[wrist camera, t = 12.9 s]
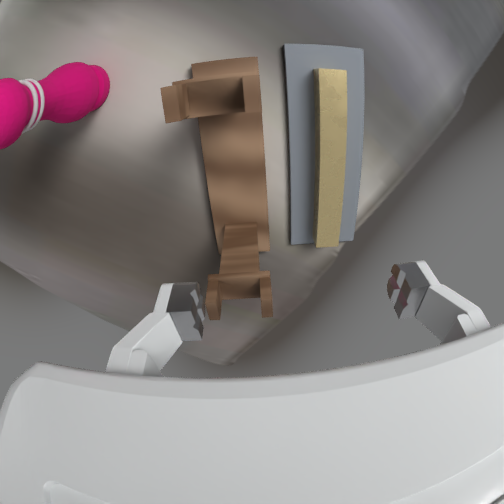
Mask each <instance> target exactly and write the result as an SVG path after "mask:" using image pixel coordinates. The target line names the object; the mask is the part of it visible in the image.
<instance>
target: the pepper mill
mask: <svg viewBox="0 0 504 504" xmlns="http://www.w3.org/2000/svg"><path fill="white" fill-rule="evenodd" d="M109 89H110V81H109V77H108V75H107V73H106V71H105V70H104V69H103V68H101V67H99V66H96V65H87V64H85V63H81V62H74V63H68V64H65V65H63V66H61V67H59V68H57V69H55V70H54V71H53V72H52V73H51V74H49V75H48V76H47V77H46V78H44V79H42V80H40V81H36V80H34V79H30V78H28V79H24V80H19V81H17V80H15V79H13V78H4V79H0V149H3V148H6V147H8V146H9V145H11V144H12V143H14V142H15V141H16V140H17V139H18V138H19V136H20V135H21V134H22V133H24V132H26V131H28V130H31V129H32V128H34V127H35V126H36V125H37V123H38V122H39V121H41V120H51V121H53V122H56V123H70V122H74V121H77V120H80V119H81V118H83V117H84V116H86V115H87V114H88V113H89V112H91V111H93V110H96V109H97V108H99V107H100V106H101V105H102V104H103V103H104V101H105V100H106V98H107V96H108V93H109Z"/></svg>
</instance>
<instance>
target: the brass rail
mask: <svg viewBox="0 0 504 504" xmlns="http://www.w3.org/2000/svg"><path fill="white" fill-rule="evenodd" d="M313 73H314V100H315V190H314V218H313V240H314V243H315V246H316V248H319V247H334V246H338V244H339V235H340V226H341V216H342V206H343V194H344V180H345V164H346V142H347V70H338V69H322V68H317V69H313Z"/></svg>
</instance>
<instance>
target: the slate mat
mask: <svg viewBox="0 0 504 504" xmlns="http://www.w3.org/2000/svg"><path fill="white" fill-rule="evenodd" d="M284 57H285V72H286V88H287V107H288V129H289V159H290V220H291V245H293V244H308V243H314V240H313V218H314V190H315V100H314V73H313V69H317V68H322V69H338V70H347V142H346V164H345V180H344V194H343V206H342V216H341V226H340V235H339V241H352V240H353V237H354V230H355V223H356V215H357V207H358V198H359V188H360V177H361V165H362V151H363V131H364V56H363V49H358V48H350V47H341V46H330V45H314V44H284Z"/></svg>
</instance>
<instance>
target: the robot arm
mask: <svg viewBox="0 0 504 504" xmlns="http://www.w3.org/2000/svg"><path fill="white" fill-rule="evenodd" d="M391 272H392V274H393V275H392V277H391V278H390V279H389V280H388V284H387V291H388V295H389V298H390V300H391V301H392V302H394V303H395V306H394V309H395V311H396V313H397V315H398V318H399V319H403V318H409V317H415V318H416V319H417V320H419V321H420V322H421V323H422V324H423V325H424V326H426V328H427V329H429V330H430V331H431V332H432V333H433V334H434V335H435V336H436V337H437V338H438V339H440V340H441V341H442V342H441V343H440V345H438V346H435V347H431V348H428V349H424V350H420V351H416V352H413V353H409V354H404V355H400V356H397V357H392V358H388V359H383V360H378V361H373V362H368V363H363V364H358V365H352V366H346V367H340V368H333V369H326V370H319V371H311V372H303V373H293V374H283V375H271V376H256V377H235V378H172V377H164V376H163V375H162V373H161V372H160V371H161V370H162V368H163V367H164V366H165V364H166V363H167V362H168V360H169V359H170V358H171V357H172V355H173V354H174V353H175V351H176V350H177V349H178V347H179V346H180V345H181V344H182V341H195V340H202V337H203V329H204V327H203V324H202V321H203V320H204V319H205V302H204V298H203V296H201V295H200V290H201V288H200V285H199V283H198V282H188V283H168V284H162V285H161V287H160V291H159V294H158V297H157V301H156V304H155V307H154V311H153V313H149V314H148V315H147V316H146V317H145V318H144V319H143V320H142V321H141V322H140V323H138V324H137V325H136V326H135V327H134V328H133V329H132V330H131V331H130V332H129V333H128V334H127V335H126V336H125V337H123V339H121V340H120V341H119V342H118V343H117V344H116V345H115V346H114V347H113V349H112V352H111V355H110V358H109V361H108V364H107V367H106V371H105V372H100V371H93V370H86V369H80V368H74V367H68V366H62V365H57V364H52V363H48V362H42V361H41V362H37V363H35V364H33V365H32V366H31V367H29V368H28V369H27V370H26V371H25V372H23V373H22V374H21V375H20V376H19V377H18V378H17V379H16V380H15V381H14V382H13V383H12V385H11V387H10V389H9V391H8V393H7V395H6V397H5V400H4V402H3V405H2V408H1V411H0V504H504V323H502V324H499V325H496V326H494V327H491V326H490V324H489V323H488V321H487V319H486V317H485V316H484V314H483V312H482V311H481V309H480V308H479V307H477V306H476V305H474V304H473V303H471V302H470V301H468V300H467V299H465V298H464V297H462V296H461V295H459V294H458V293H456V292H454V291H453V290H451V289H450V288H448V287H446V286H445V285H443V284H441V285H440V283H439V282H438V280H437V278H436V277H435V275H434V274H433V272H432V271H431V269H430V268H429V266H428V265H427V263H426V262H425V261H423V260H422V261H415V262H408V263H400V264H394V265H393V267H392V270H391Z"/></svg>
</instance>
